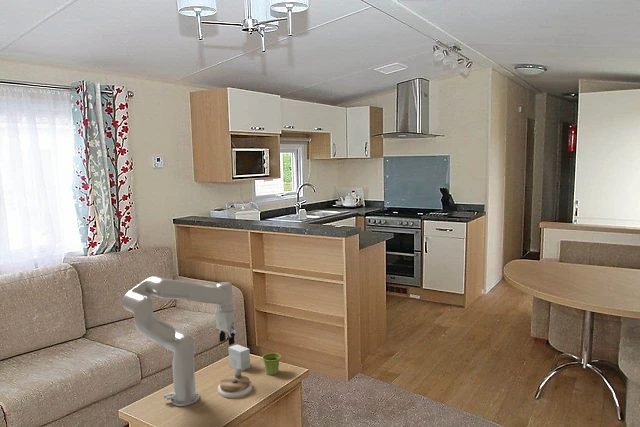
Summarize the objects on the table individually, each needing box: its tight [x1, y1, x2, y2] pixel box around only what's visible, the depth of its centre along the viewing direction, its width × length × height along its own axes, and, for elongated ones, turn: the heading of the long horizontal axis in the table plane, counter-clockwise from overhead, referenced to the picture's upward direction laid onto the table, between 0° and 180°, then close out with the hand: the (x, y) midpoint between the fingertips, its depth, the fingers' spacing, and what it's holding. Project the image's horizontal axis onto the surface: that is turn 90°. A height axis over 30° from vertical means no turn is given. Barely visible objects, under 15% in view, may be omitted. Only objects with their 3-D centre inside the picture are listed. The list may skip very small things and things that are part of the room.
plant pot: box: [261, 352, 282, 376], centre depth 239 cm, size 9×9×9 cm
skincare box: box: [228, 344, 251, 372], centre depth 247 cm, size 10×6×10 cm, turn 49°
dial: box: [219, 368, 251, 392], centre depth 222 cm, size 14×14×5 cm
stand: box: [217, 380, 253, 399], centre depth 223 cm, size 16×16×2 cm
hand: (227, 342), depth 231 cm, fingers open, 6 cm apart
